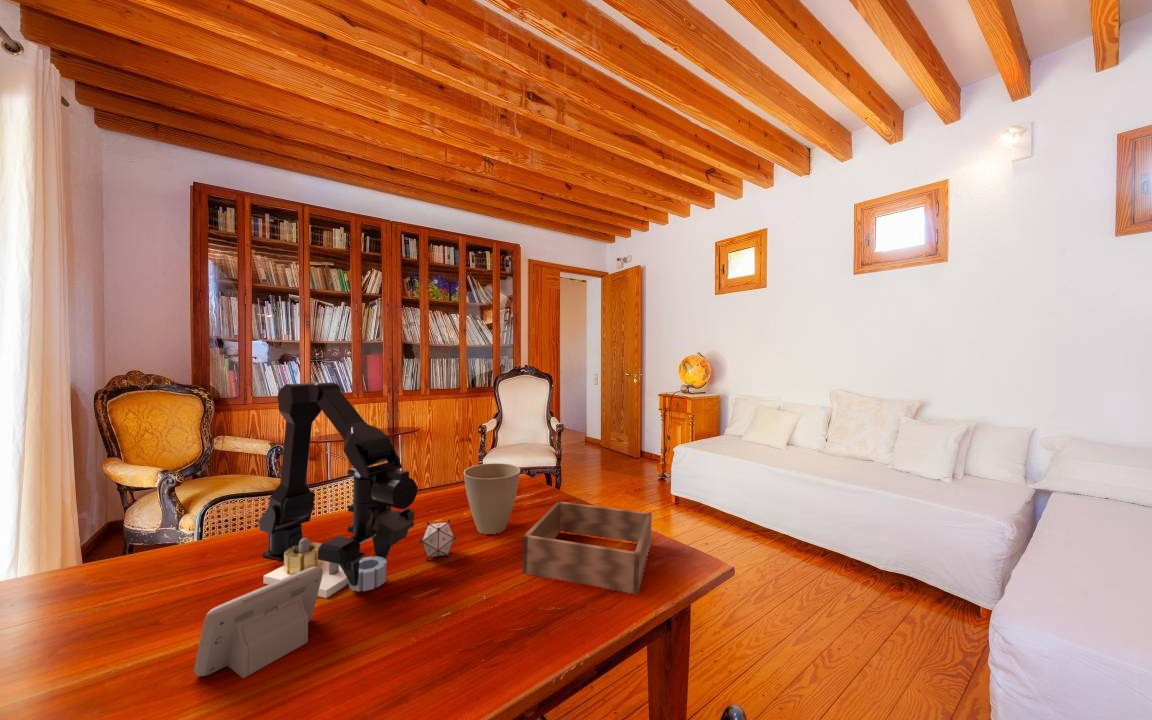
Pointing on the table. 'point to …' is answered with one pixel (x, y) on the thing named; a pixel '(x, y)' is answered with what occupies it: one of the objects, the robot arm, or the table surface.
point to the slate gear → (370, 573)
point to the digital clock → (259, 625)
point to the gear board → (330, 578)
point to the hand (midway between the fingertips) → (367, 576)
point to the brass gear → (301, 558)
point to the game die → (438, 539)
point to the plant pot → (491, 494)
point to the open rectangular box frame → (589, 546)
